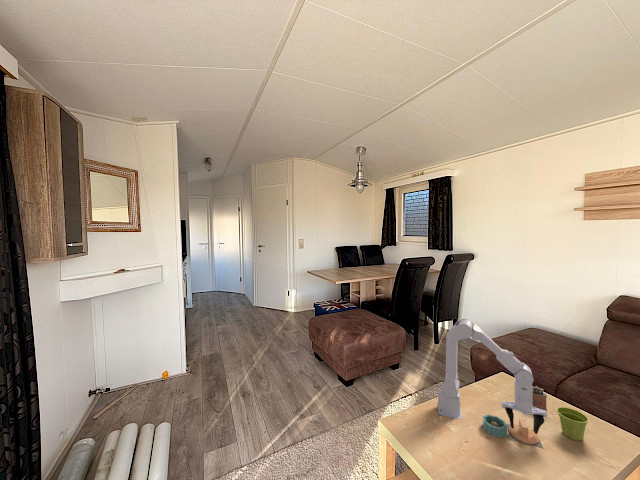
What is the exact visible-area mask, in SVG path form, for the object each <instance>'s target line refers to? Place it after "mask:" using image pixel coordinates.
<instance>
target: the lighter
mask: <svg viewBox="0 0 640 480" xmlns="http://www.w3.org/2000/svg"><path fill="white" fill-rule="evenodd" d="M547 395H548V394H547V393H545V392H544V389H543V388H542V387H541V388H540V387H538V386H533V385H532V397H533V399H532V402H533V407H536V408H539V409H542V410H545V411H546V412H547V413H548V409H547V397H548V396H547Z"/></svg>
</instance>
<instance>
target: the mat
mask: <svg viewBox="0 0 640 480" xmlns="http://www.w3.org/2000/svg"><path fill="white" fill-rule="evenodd" d="M506 425H507V432H508V434H509V436H510V440H511V441H513V442H515V443H516V442H517V443H521V444H524V445H528V446H530V447H531V446H532V447H535V448H540V449H545V448H544V446H543V444H542V442H541V440H540V439H539V443H538V444H534V445H531V444H526V443H523V442H521V441H519V440H517V439H516V438H514V437H513V436H512V435H511V434H510V432H509V427H510V426H511V425H510V424H509V423H506ZM531 430H532V431H533V432H534V429H531Z"/></svg>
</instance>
